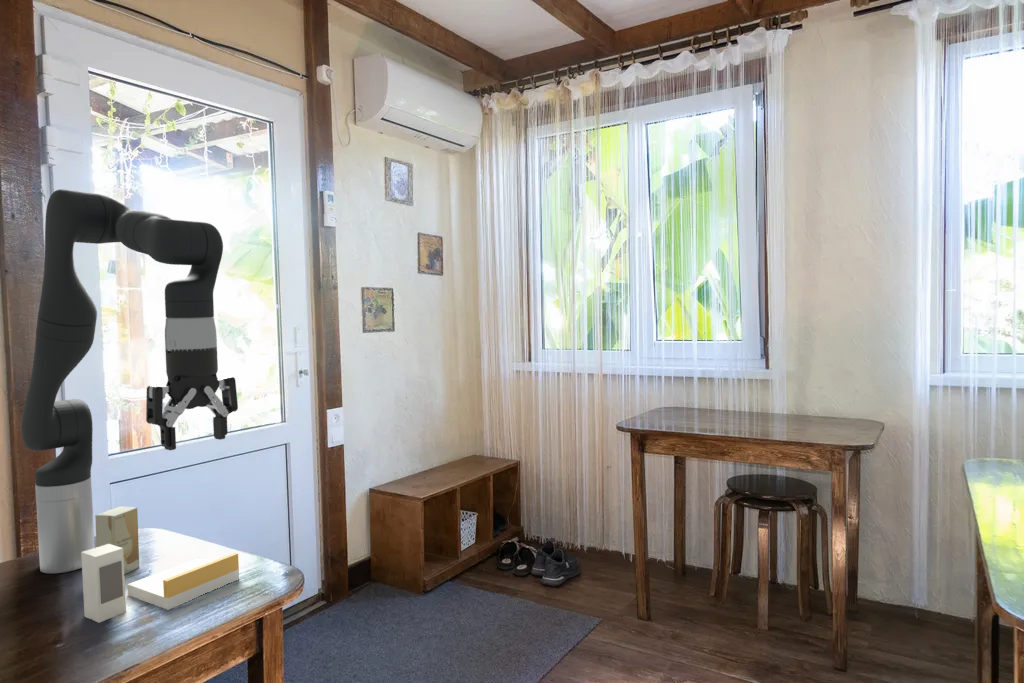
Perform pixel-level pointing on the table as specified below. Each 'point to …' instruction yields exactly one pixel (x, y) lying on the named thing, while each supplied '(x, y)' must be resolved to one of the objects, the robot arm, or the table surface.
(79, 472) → the robot arm
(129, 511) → the skincare box
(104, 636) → the table surface
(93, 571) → the product carton
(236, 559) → the shelf board
